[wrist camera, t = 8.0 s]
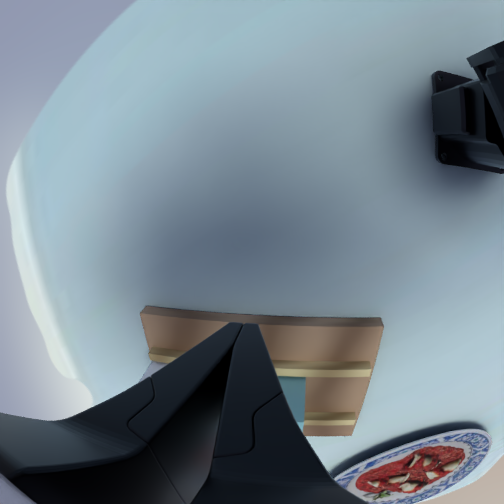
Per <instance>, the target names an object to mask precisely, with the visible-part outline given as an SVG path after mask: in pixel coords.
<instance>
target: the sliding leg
mask: <svg viewBox="0 0 504 504" xmlns="http://www.w3.org/2000/svg"><path fill="white" fill-rule="evenodd" d="M278 379H279V381H280V384H281V387H282V389H283V392H284V394H285V397H286V399H287V402H288V404H289V407H290V409H291V411H292V414H293V416H294V418H295V420H296V422H297V423H298V425H299V427H300V429H301V431H302V432H303V426H304V413H305V388H306V377H293V376H278Z"/></svg>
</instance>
